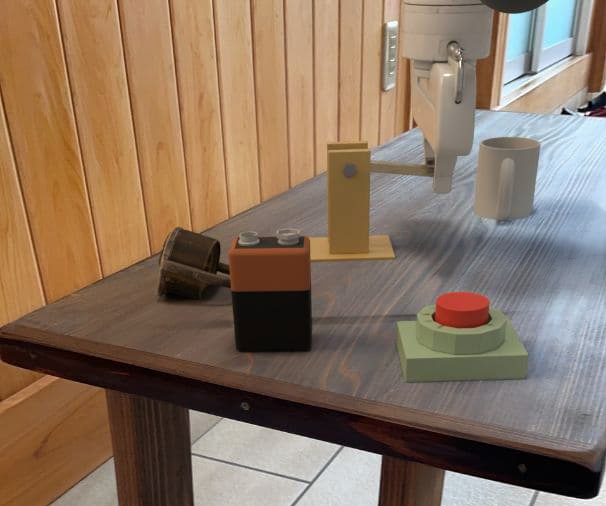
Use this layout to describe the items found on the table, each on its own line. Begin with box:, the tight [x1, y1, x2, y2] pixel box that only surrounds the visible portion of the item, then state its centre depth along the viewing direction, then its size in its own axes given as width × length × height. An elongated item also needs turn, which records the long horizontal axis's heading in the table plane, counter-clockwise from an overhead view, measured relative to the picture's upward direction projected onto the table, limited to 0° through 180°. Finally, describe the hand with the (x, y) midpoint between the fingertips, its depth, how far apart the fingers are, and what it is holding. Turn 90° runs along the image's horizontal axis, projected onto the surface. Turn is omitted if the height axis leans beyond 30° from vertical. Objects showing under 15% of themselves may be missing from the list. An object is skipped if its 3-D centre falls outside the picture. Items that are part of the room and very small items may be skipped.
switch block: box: [395, 303, 530, 383], centre depth 73 cm, size 10×8×4 cm
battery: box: [228, 227, 313, 353], centre depth 75 cm, size 4×7×10 cm, turn 88°
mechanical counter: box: [154, 226, 231, 301], centre depth 85 cm, size 7×13×10 cm
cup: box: [473, 136, 542, 221], centre depth 104 cm, size 7×10×9 cm
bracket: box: [308, 140, 396, 263], centre depth 94 cm, size 10×8×12 cm
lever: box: [336, 149, 435, 178], centre depth 92 cm, size 12×6×2 cm, turn 91°
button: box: [435, 291, 491, 329], centre depth 71 cm, size 4×4×2 cm
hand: (436, 183), depth 93 cm, fingers closed on lever, 6 cm apart
